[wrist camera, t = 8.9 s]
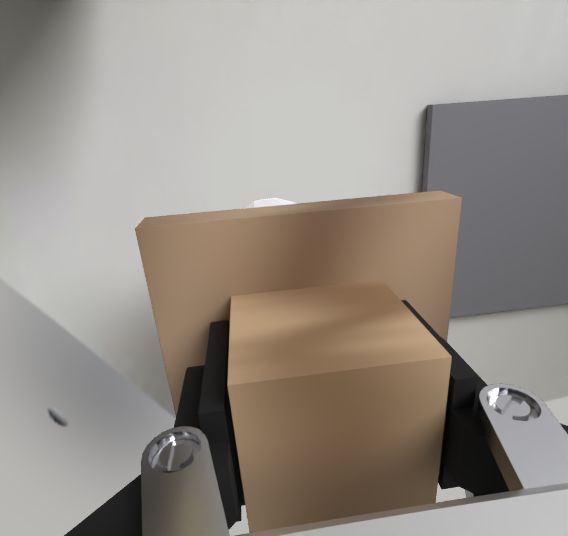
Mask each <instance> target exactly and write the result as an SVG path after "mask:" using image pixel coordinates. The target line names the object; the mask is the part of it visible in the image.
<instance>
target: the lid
mask: <svg viewBox="0 0 568 536" xmlns="http://www.w3.org/2000/svg"><path fill="white" fill-rule="evenodd" d="M461 202H462V198H461V197H458V196H455V195H452V194H449V193H447V192H444V191H430V192H419V193H409V194H398V195H387V196H376V197H365V198H354V199H343V200H332V201H321V202H311V203H300V204H289V205H278V206H267V207H256V208H245V209H234V210H223V211H212V212H202V213H191V214H180V215H169V216H158V217H147V218H144V219H143V221H142V222H141V223H140V224H139V225H138V226H137V227H136V228H135V231H136V236H137V240H138V245H139V249H140V254H141V258H142V263H143V268H144V272H145V277H146V281H147V286H148V290H149V295H150V299H151V304H152V309H153V313H154V318H155V322H156V327H157V331H158V336H159V340H160V345H161V349H162V354H163V359H164V363H165V368H166V372H167V377H168V381H169V386H170V390H171V395H172V400H173V404H174V409H175V413H176V415H177V411H178V406H179V401H180V396H181V391H182V387H183V382H184V377H185V372H186V369H187V367H193V366H201V365H205V360H206V352H207V345H208V338H209V330H210V323H211V322H215V321H224V320H229V324H230V334H229V360H228V385H227V386H228V392H229V399H230V405H231V412H232V419H233V425H234V432H235V439H236V445H237V452H238V459H239V465H240V472H241V479H242V485H243V492H244V498H245V505H246V512H247V518H248V525H249V532H250V533H254V532H260V531H266V530H272V529H278V528H284V527H290V526H296V525H302V524H308V523H314V522H320V521H326V520H332V519H338V518H344V517H351V516H357V515H363V514H369V513H376V512H382V511H388V510H394V509H400V508H407V507H413V506H419V505H425V504H432V503H435V502H436V493H437V485H438V476H439V467H440V458H441V449H442V440H443V431H444V422H445V413H446V404H447V395H448V386H449V377H450V369H451V360H452V356H451V355H450V354H449V353H448V352H447V351H446V350H445V349H444V347H443V346H442V345H441V344H440V343H439V342H438V341H437V340H436V339H435V338H434V336H433V335H432V334H431V333H430V332H429V331H428V330H427V329H426V328H425V326H424V325H423V324H422V323H421V322H420V321H419V320H418V319H417V318H416V316H415V315H414V314H413V313H412V312H411V311H410V310H409V309H408V308H407V307H406V305H405V304H404V303H403V302H402V301H401V300H406V301H407V302H408V303H409V304H410V305H411V306H412V307H413V308H414V309H415V310H416V311H417V312H418V313H419V314H420V315H421V317H422V318H423V319H424V320H425V321H426V322H427V323H428V324H429V325H430V326H431V327H432V328H433V329H434V330H435V331H436V333H437V334H438V335H439V336H440V337H442V338H443V339H444V340H445V341H446V342H447V335H448V326H449V316H450V307H451V297H452V288H453V278H454V269H455V259H456V249H457V240H458V230H459V221H460V211H461Z"/></svg>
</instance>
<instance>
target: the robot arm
mask: <svg viewBox="0 0 568 536" xmlns="http://www.w3.org/2000/svg"><path fill="white" fill-rule="evenodd" d="M401 301H402V302H403V303H404V304H405V305H406V307H407V308H408V309H409V310H410V311H411V312H412V313H413V314H414V315H415V316H416V318H417V319H418V320H419V321H420V322H421V323H422V324H423V325H424V326H425V328H426V329H427V330H428V331H429V332H430V333H431V334H432V335H433V336H434V338H435V339H436V340H437V341H438V342H439V343H440V344H441V345H442V346H443V347H444V349H445V350H446V351H447V352H448V353H449V354H450V355H451V356H452V360H451V369H450V377H449V386H448V395H447V404H446V413H445V422H444V431H443V440H442V449H441V458H440V467H439V476H438V483H439V485H440V487H441V489H447V488H453V487H461V488H463V489H465V493H466V498H463V499H457V500H451V501H445V502H438V503H432V504H425V505H419V506H413V507H407V508H400V509H394V510H388V511H382V512H376V513H369V514H363V515H357V516H351V517H344V518H338V519H332V520H326V521H320V522H314V523H308V524H302V525H296V526H290V527H284V528H278V529H272V530H266V531H260V532H254V533H248V534H242V535H236V536H568V426H566V425H563V424H560V423H559V422H558V420H557V419H556V418H555V416H554V415H553V413H552V412H551V411H550V409H549V408H548V407H547V405H546V404H545V403H544V402H543V401H542V400H541V399H540V398H539V397H538V396H536V395H535V394H533V393H532V392H530V391H528V390H525V389H523V388H521V387H517V386H514V385H509V384H492V385H489V386H488V385H487V384H486V383H485V382H484V381H483V380H482V379H481V378H480V377H479V376H478V375H477V374H476V373H475V372H474V370H473V369H472V368H471V367H470V366H469V365H468V364H467V363H466V362H465V361H464V360H463V359H462V358H461V357H460V356H459V355H458V353H457V352H456V351H455V350H454V349H453V348H452V347H451V346H450V345H449V344H448V343H447V342H446V341H445V340H444V339H443V338H442V337H440V336H439V335H438V334H437V333H436V331H435V330H434V329H433V328H432V327H431V326H430V325H429V324H428V323H427V322H426V321H425V320H424V319H423V318H422V317H421V315H420V314H419V313H418V312H417V311H416V310H415V309H414V308H413V307H412V306H411V305H410V304H409V303H408V302H407V301H406V300H401ZM229 334H230V324H229V320H224V321H215V322H211V323H210V330H209V338H208V345H207V352H206V360H205V365H201V366H193V367H187V369H186V372H185V377H184V382H183V387H182V391H181V396H180V401H179V406H178V411H177V415H176V420H175V425H174V428H172V429H169V430H167V431H165V432H163V433H161V434H160V435H158V436H157V437H155V438H154V439H153V440H152V441H151V442H150V443H149V444H148V445H147V447H146V448H145V450H144V452H143V454H142V460H141V475H139V476H138V477H137V478H136V479H134V480H133V481H132V482H130V483H129V484H128V485H127V486H125V487H124V488H123V489H122V490H120V491H119V492H118V493H117V494H116V495H114V496H113V497H112V498H111V499H109V500H108V501H107V502H106V503H104V504H103V505H102V506H101V507H99V508H98V509H97V510H96V511H95V512H93V513H92V514H91V515H89V516H88V517H87V518H86V519H84V520H83V521H82V522H81V523H79V524H78V525H77V526H76V527H74V528H73V529H72V530H71V531H69V532H68V533H67V534H66V535H64V536H230V535H229V531H228V530H229V529H230V528H231V527H232V526H233V525H234V523H235V522H237V521H241V506H242V505H245V498H244V492H243V485H242V479H241V472H240V465H239V459H238V452H237V445H236V439H235V432H234V425H233V419H232V412H231V405H230V399H229V392H228V386H227V385H228V360H229Z"/></svg>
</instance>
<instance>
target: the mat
mask: <svg viewBox="0 0 568 536" xmlns="http://www.w3.org/2000/svg"><path fill="white" fill-rule="evenodd" d="M430 191H444V192H447V193H449V194H452V195H455V196H458V197H461V198H462V202H461V211H460V221H459V230H458V240H457V249H456V259H455V269H454V278H453V288H452V297H451V307H450V316H449V318H453V317H461V316H469V315H478V314H486V313H494V312H502V311H511V310H519V309H527V308H536V307H544V306H552V305H560V304H568V95H561V96H547V97H533V98H520V99H506V100H492V101H479V102H465V103H451V104H438V105H427V119H426V134H425V150H424V165H423V181H422V192H430Z"/></svg>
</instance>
